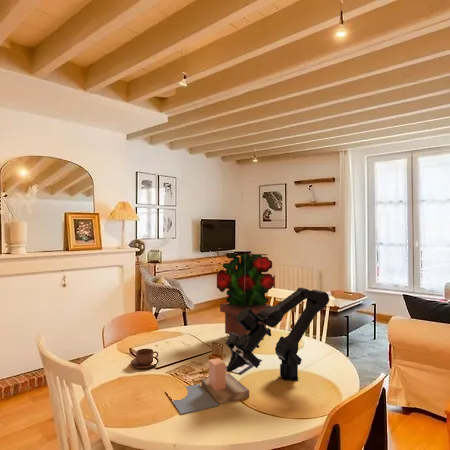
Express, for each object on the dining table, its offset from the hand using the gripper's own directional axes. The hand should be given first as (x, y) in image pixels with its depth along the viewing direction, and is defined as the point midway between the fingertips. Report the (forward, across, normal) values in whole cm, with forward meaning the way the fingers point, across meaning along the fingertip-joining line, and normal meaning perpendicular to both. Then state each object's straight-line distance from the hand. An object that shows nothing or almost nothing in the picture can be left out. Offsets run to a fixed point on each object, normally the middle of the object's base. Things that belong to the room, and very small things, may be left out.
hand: (227, 371), depth 139 cm
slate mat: (+16, 0, -5) cm, 16 cm away
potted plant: (-20, -53, +31) cm, 64 cm away
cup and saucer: (+21, -38, -10) cm, 44 cm away
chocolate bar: (-6, -19, +17) cm, 27 cm away
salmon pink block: (+6, 0, 0) cm, 6 cm away
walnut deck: (+6, 0, +4) cm, 7 cm away
